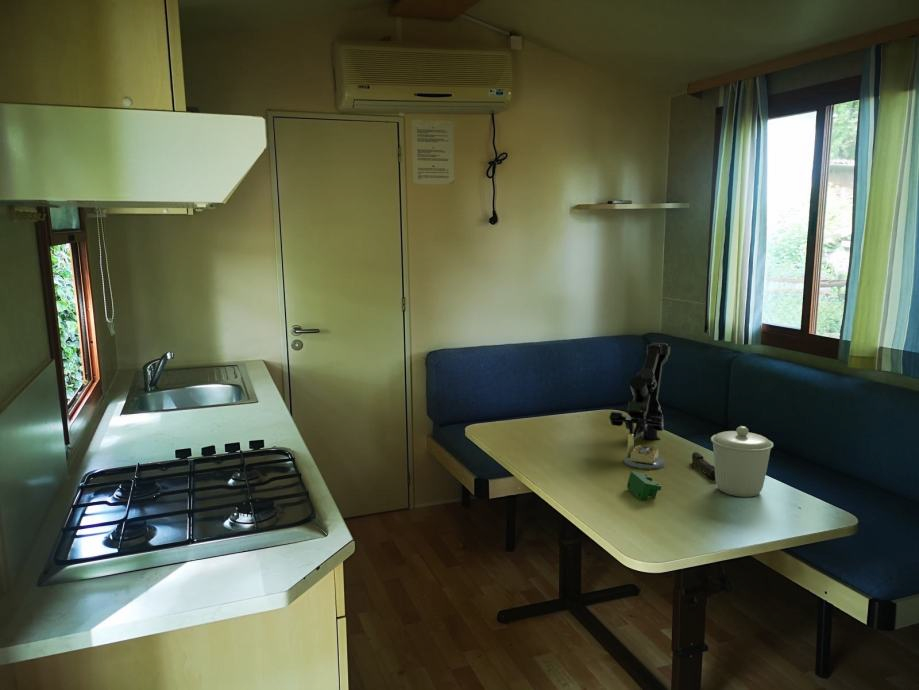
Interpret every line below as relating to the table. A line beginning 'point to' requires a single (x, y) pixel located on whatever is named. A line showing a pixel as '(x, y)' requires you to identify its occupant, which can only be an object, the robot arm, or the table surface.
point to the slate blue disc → (640, 465)
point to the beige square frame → (638, 456)
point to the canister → (740, 461)
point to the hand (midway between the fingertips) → (631, 441)
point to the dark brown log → (703, 465)
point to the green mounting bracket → (642, 485)
